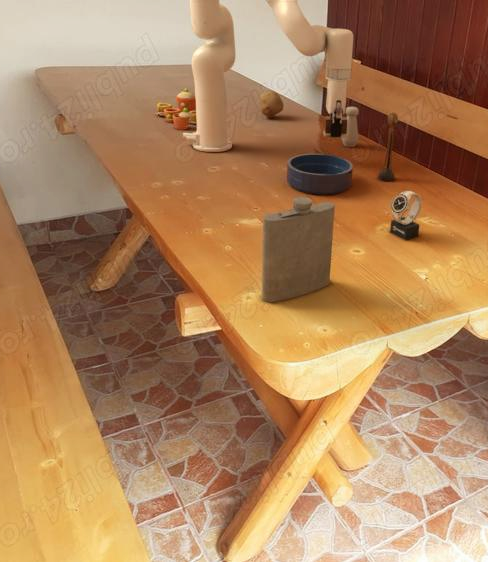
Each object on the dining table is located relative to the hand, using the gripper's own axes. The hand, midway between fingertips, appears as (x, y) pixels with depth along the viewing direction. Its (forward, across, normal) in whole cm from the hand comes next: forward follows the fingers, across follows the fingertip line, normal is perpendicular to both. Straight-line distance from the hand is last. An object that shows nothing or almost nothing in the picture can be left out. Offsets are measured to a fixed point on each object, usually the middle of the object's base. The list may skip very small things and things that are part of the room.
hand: (334, 134), depth 198 cm
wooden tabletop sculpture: (+10, +14, +15) cm, 22 cm away
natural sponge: (+9, -51, -18) cm, 55 cm away
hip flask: (+10, +81, -16) cm, 83 cm away
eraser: (+1, 0, 0) cm, 1 cm away
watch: (+10, +53, +12) cm, 55 cm away
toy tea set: (+9, -43, -50) cm, 67 cm away
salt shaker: (+9, -19, +8) cm, 23 cm away
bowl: (+9, +19, -6) cm, 22 cm away
